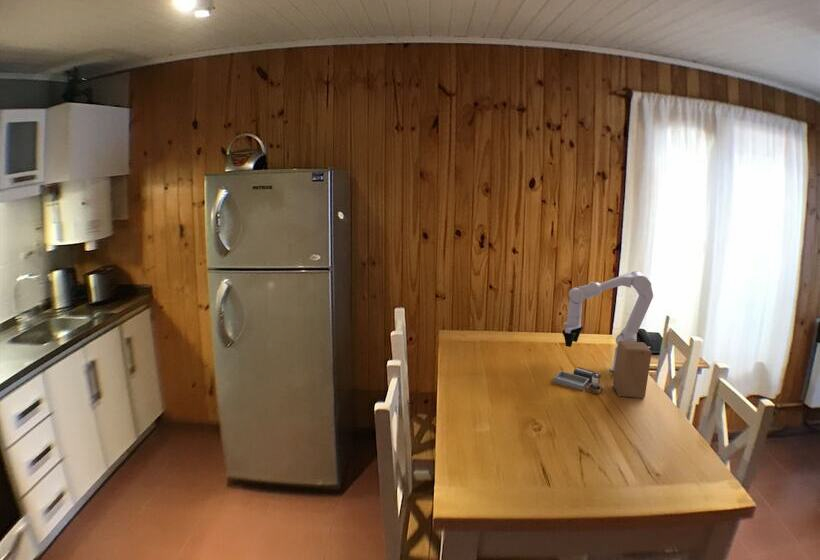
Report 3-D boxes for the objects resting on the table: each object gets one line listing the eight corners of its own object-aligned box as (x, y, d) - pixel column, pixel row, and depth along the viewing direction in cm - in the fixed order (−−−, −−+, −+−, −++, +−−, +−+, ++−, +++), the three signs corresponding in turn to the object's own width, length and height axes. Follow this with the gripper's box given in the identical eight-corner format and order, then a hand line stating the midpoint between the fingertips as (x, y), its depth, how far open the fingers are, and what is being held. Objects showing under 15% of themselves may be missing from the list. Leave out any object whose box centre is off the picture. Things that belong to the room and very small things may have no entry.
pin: (600, 390, 180) (602, 374, 178) (597, 393, 177) (599, 377, 176) (591, 387, 182) (593, 371, 180) (588, 390, 179) (590, 374, 178)
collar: (602, 389, 180) (603, 386, 180) (599, 394, 176) (599, 391, 176) (589, 386, 183) (590, 382, 183) (586, 390, 179) (586, 387, 179)
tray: (588, 383, 185) (589, 378, 185) (582, 391, 179) (583, 386, 178) (560, 375, 192) (560, 370, 192) (553, 382, 186) (553, 377, 186)
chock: (598, 380, 189) (599, 372, 188) (594, 384, 185) (595, 376, 185) (576, 374, 194) (577, 366, 193) (573, 377, 191) (573, 369, 190)
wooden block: (645, 399, 173) (652, 351, 168) (617, 396, 175) (624, 349, 170) (638, 387, 182) (644, 341, 178) (611, 385, 184) (617, 339, 180)
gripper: (571, 309, 206) (568, 337, 209) (559, 317, 195) (556, 346, 198) (586, 312, 201) (583, 340, 205) (575, 320, 190) (572, 350, 194)
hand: (571, 343), depth 201 cm, fingers open, 7 cm apart
